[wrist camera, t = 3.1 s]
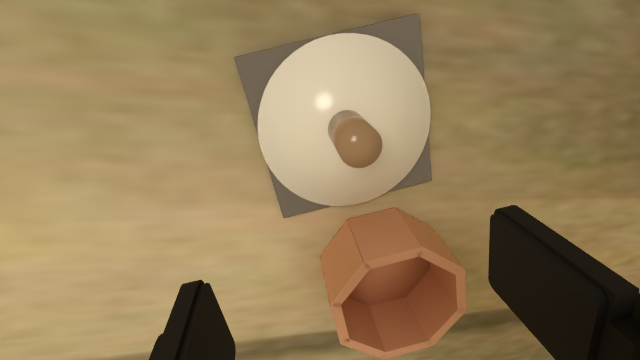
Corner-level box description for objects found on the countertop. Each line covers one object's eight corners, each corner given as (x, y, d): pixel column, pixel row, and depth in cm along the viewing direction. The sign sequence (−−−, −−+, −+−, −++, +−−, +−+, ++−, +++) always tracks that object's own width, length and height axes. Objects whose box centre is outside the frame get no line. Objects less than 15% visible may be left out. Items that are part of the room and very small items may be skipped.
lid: (419, 13, 23) (457, 7, 18) (431, 180, 28) (463, 209, 23) (234, 57, 22) (223, 63, 17) (283, 217, 28) (285, 255, 23)
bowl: (429, 198, 29) (464, 235, 24) (436, 288, 34) (467, 336, 28) (312, 228, 29) (321, 273, 24) (335, 314, 34) (347, 368, 28)
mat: (415, 14, 23) (419, 13, 22) (428, 177, 28) (431, 180, 28) (235, 57, 23) (234, 57, 22) (283, 214, 28) (283, 218, 28)
